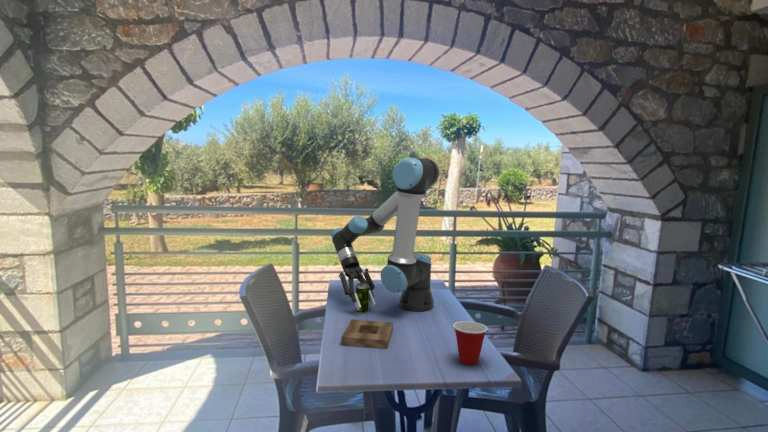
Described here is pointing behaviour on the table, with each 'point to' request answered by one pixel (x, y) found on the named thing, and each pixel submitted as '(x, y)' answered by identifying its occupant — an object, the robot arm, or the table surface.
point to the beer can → (363, 297)
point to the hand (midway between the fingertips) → (366, 306)
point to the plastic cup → (469, 340)
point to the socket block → (367, 334)
